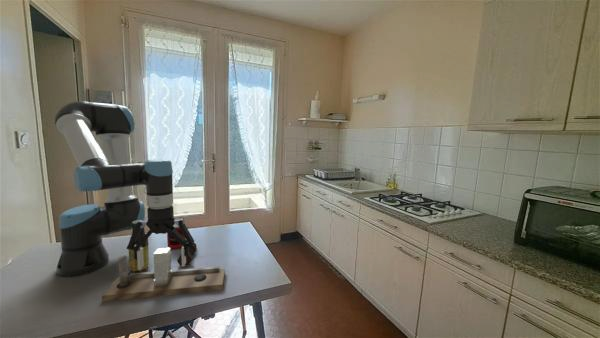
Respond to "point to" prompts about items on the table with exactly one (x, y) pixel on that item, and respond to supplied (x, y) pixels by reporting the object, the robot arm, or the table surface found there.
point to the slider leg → (162, 266)
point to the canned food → (172, 241)
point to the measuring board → (178, 284)
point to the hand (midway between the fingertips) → (162, 266)
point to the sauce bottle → (134, 263)
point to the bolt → (189, 257)
